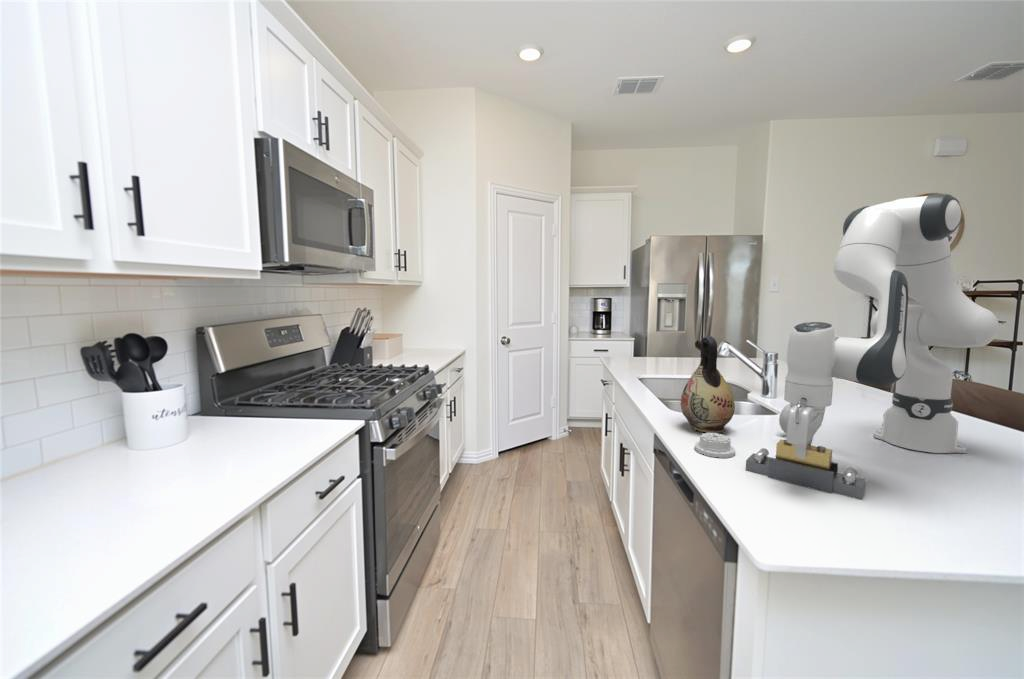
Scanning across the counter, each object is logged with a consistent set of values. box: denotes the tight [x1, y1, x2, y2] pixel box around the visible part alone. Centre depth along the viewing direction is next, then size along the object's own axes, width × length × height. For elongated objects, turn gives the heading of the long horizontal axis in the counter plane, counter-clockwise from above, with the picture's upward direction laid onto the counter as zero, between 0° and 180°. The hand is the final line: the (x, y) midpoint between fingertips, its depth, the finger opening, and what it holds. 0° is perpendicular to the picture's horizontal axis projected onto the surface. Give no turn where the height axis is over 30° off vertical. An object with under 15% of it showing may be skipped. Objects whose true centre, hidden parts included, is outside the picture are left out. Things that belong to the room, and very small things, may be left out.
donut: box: [778, 403, 791, 435], centre depth 128 cm, size 10×4×10 cm, turn 108°
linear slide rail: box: [745, 447, 867, 501], centre depth 98 cm, size 8×22×4 cm, turn 46°
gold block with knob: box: [775, 438, 833, 470], centre depth 97 cm, size 4×10×4 cm, turn 46°
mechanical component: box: [694, 432, 736, 459], centre depth 116 cm, size 10×4×10 cm
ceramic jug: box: [680, 335, 736, 434], centre depth 132 cm, size 17×15×30 cm
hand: (803, 453), depth 97 cm, fingers closed on gold block with knob, 4 cm apart
